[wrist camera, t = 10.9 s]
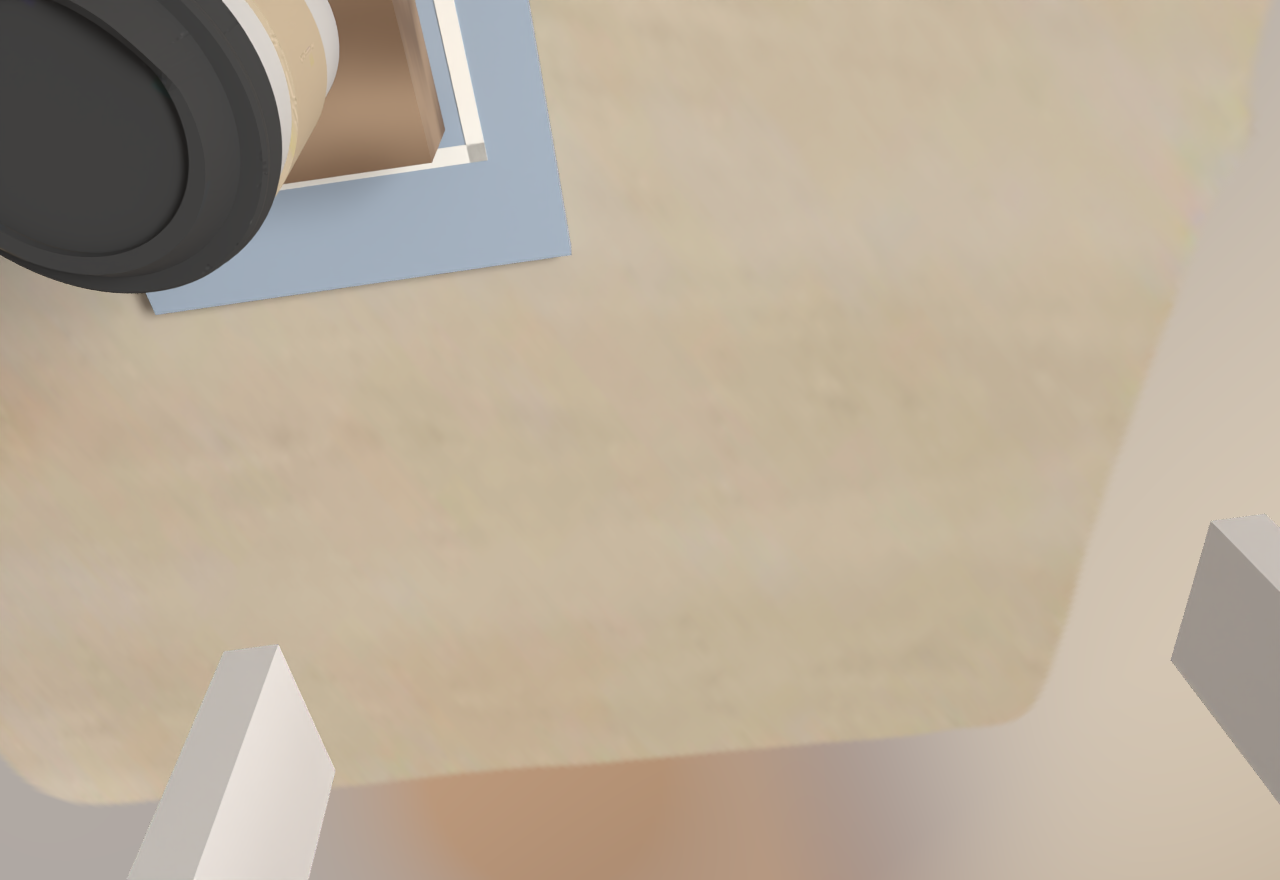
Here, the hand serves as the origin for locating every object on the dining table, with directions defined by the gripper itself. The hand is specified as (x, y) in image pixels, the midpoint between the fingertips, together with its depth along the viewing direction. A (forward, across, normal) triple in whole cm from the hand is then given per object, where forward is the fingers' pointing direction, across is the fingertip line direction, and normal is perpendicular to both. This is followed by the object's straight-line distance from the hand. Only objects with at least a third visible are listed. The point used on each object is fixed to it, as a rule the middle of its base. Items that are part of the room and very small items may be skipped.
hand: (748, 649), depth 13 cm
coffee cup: (+27, -13, +6) cm, 31 cm away
